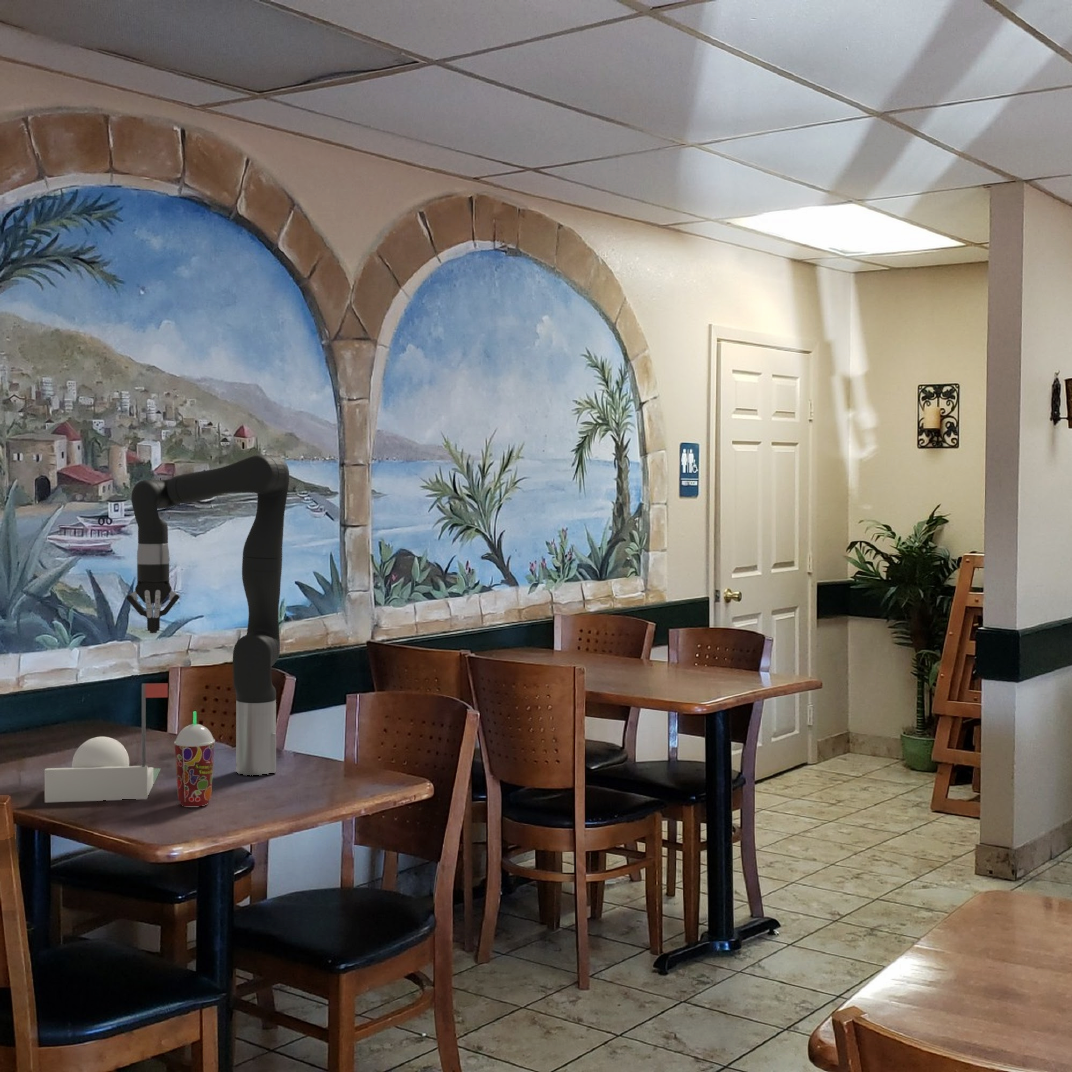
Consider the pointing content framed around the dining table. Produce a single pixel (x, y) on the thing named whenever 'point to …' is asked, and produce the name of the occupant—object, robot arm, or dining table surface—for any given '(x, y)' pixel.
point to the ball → (100, 753)
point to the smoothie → (194, 764)
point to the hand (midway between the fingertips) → (153, 632)
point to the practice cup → (106, 772)
